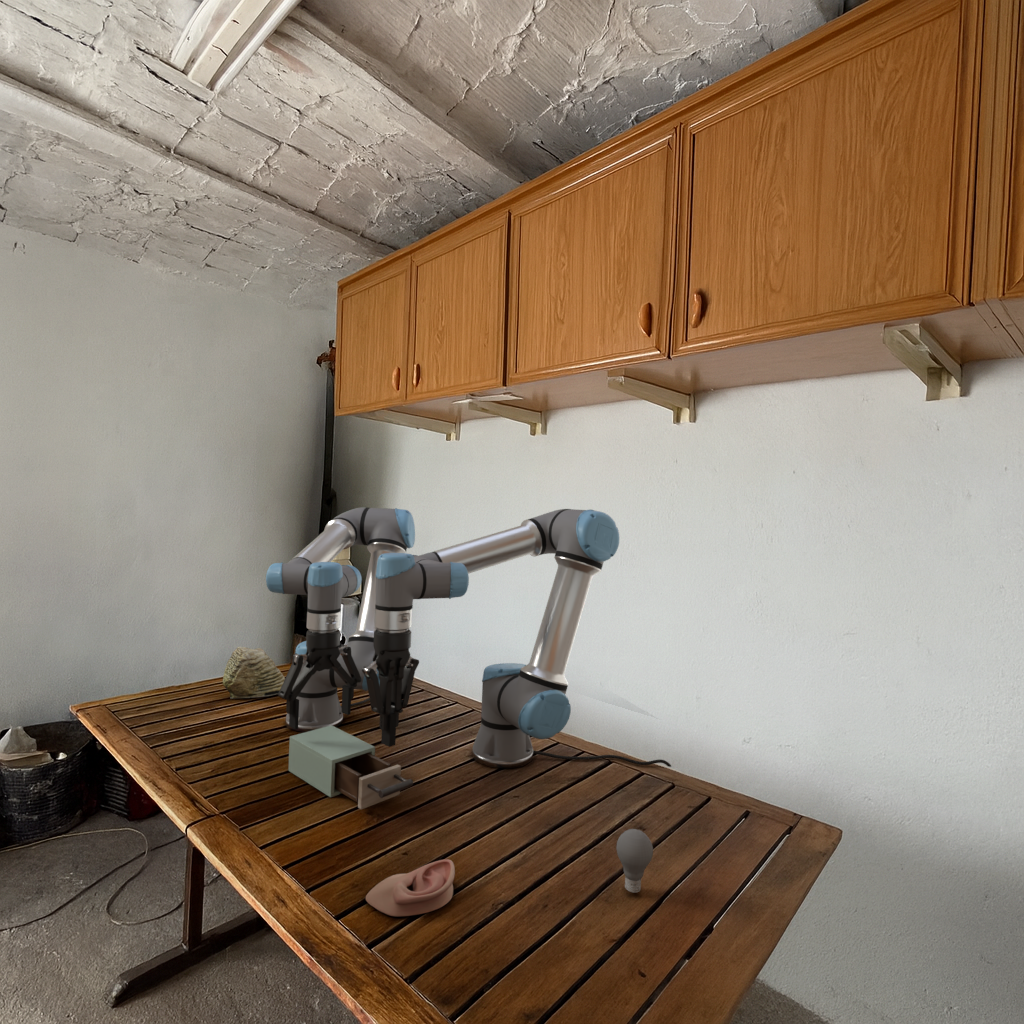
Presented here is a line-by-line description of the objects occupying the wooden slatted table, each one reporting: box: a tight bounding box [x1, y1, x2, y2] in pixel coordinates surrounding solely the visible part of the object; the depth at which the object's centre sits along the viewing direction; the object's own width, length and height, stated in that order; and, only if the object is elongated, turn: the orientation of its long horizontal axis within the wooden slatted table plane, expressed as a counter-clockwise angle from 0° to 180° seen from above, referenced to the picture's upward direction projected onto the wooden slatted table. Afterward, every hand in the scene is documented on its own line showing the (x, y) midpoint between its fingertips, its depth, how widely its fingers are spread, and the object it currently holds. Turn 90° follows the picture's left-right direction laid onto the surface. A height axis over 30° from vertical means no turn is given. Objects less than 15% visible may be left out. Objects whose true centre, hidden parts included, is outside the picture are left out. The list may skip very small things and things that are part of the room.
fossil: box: [222, 646, 286, 699], centre depth 198 cm, size 9×18×15 cm, turn 132°
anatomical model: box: [365, 858, 456, 918], centre depth 102 cm, size 13×4×12 cm
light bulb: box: [615, 828, 654, 894], centre depth 106 cm, size 6×6×10 cm
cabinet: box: [288, 725, 376, 798], centre depth 144 cm, size 18×11×8 cm, turn 48°
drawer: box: [334, 753, 414, 810], centre depth 135 cm, size 22×10×6 cm, turn 48°
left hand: (320, 720), depth 147 cm, fingers open, 13 cm apart
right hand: (388, 743), depth 129 cm, fingers closed
